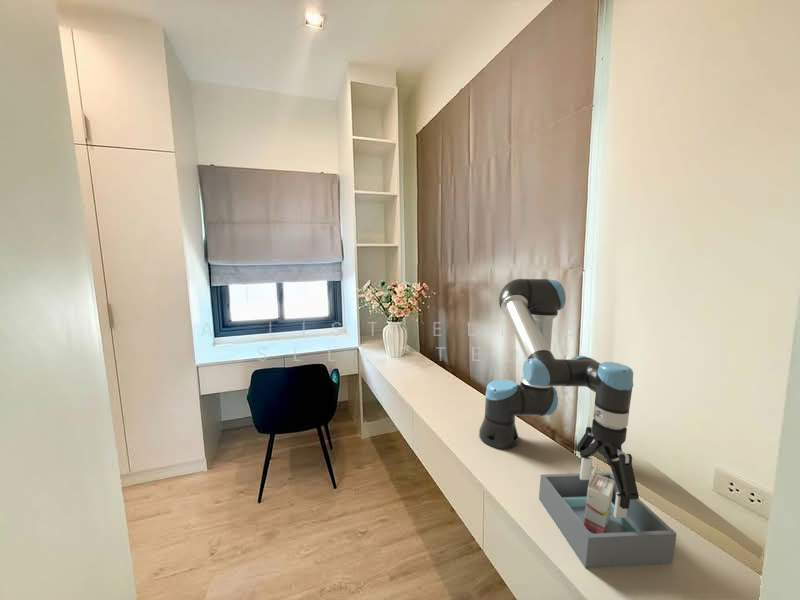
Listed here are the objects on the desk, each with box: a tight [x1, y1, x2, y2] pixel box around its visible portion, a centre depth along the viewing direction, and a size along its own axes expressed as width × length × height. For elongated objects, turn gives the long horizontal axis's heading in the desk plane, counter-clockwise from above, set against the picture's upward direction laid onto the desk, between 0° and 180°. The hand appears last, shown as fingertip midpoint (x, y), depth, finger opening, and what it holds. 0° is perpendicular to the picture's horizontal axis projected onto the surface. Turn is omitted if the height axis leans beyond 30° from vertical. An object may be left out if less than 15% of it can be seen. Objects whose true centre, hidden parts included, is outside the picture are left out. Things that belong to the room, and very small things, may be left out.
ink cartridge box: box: [584, 463, 615, 534], centre depth 87 cm, size 9×5×15 cm, turn 138°
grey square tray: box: [538, 472, 677, 569], centre depth 87 cm, size 22×22×8 cm
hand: (600, 496), depth 87 cm, fingers open, 13 cm apart
